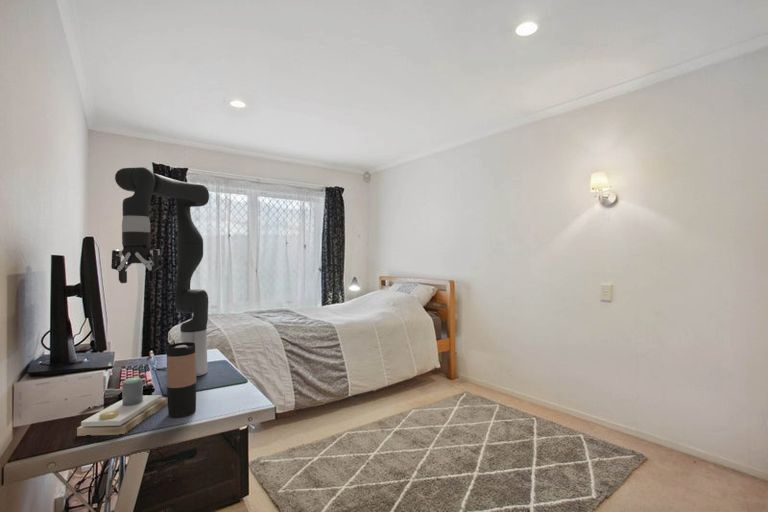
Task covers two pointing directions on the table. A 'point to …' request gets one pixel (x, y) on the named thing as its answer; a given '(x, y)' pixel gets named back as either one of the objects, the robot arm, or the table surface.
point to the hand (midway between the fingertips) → (137, 282)
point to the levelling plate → (124, 405)
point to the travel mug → (181, 379)
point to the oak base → (125, 426)
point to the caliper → (111, 392)
